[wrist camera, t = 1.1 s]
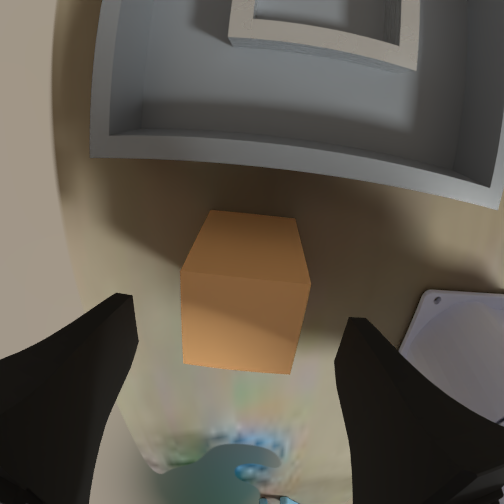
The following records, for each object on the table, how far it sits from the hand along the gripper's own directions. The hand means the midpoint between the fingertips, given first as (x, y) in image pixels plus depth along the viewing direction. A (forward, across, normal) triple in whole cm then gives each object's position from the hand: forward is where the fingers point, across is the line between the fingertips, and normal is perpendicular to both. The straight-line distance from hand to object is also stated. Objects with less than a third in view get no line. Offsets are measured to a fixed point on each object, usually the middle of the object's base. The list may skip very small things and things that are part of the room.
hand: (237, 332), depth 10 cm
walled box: (+6, -2, -13) cm, 15 cm away
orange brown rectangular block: (+6, 0, 0) cm, 6 cm away
